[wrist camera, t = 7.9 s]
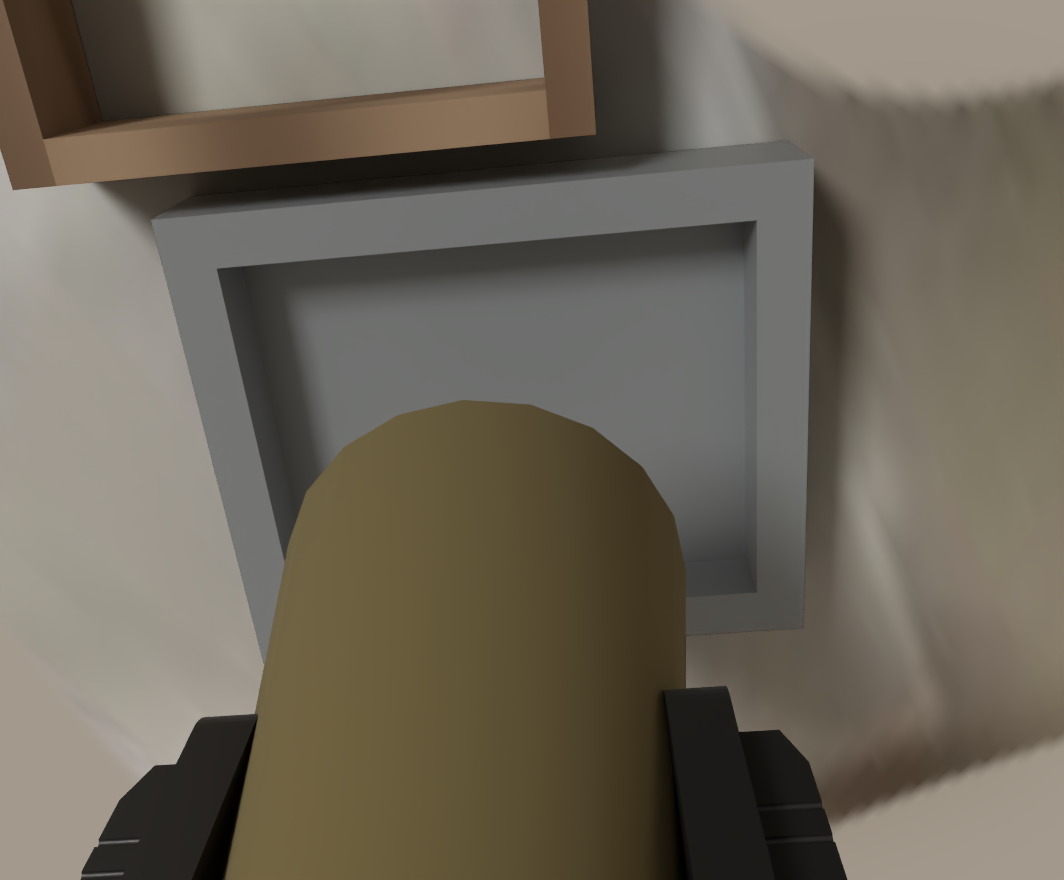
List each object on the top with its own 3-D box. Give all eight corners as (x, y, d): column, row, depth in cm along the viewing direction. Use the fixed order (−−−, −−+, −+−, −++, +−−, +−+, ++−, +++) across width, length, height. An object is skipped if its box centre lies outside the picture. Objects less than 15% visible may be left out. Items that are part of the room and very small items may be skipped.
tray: (787, 140, 19) (813, 158, 17) (782, 573, 24) (803, 628, 22) (190, 196, 20) (150, 219, 18) (287, 607, 24) (263, 663, 22)
